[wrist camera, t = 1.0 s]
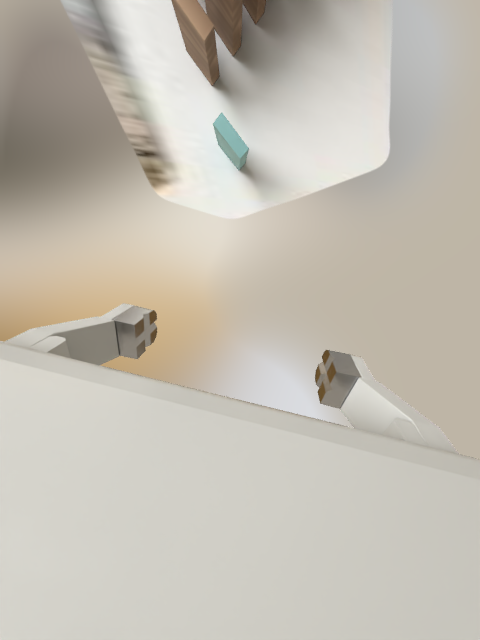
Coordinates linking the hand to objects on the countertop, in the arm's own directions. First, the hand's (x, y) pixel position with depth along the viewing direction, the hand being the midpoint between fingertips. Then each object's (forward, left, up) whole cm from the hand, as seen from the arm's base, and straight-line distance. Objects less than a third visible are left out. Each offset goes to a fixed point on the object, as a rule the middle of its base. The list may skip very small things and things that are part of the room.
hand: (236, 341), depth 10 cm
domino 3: (-21, +18, -37) cm, 47 cm away
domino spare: (-10, +9, -37) cm, 40 cm away
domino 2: (-21, +14, -37) cm, 45 cm away
